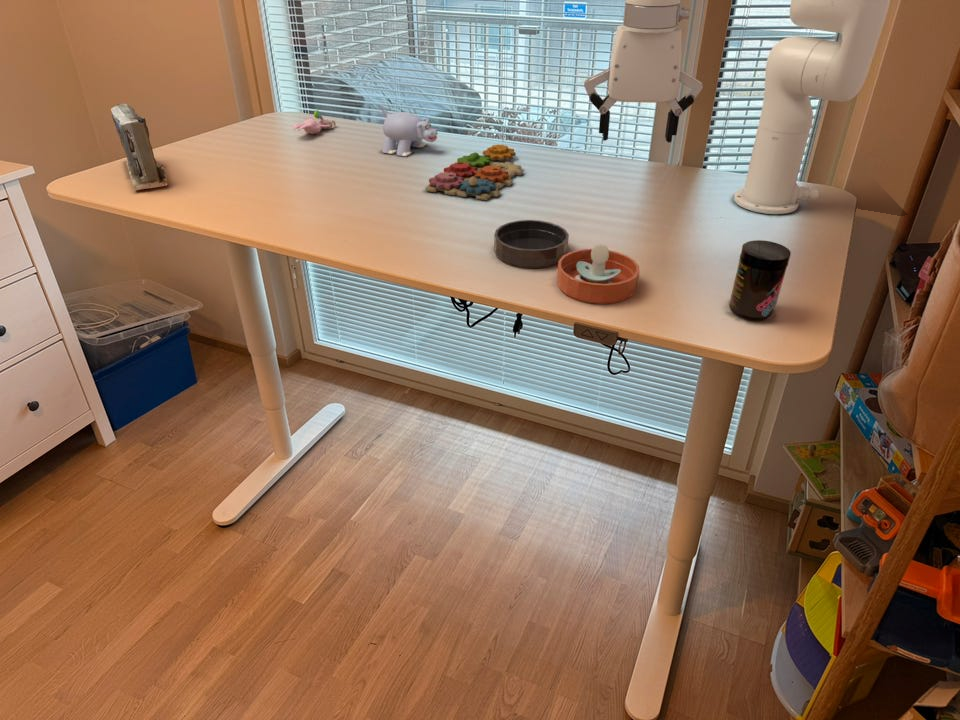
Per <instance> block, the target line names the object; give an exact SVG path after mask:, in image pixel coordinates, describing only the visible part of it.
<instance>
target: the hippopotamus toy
mask: <svg viewBox="0 0 960 720" xmlns="http://www.w3.org/2000/svg"><path fill="white" fill-rule="evenodd" d="M379 110H382V111H381V112H382V113H383V115H384V117H385V119H384V122H383V126H382V131H383V134H384V139H383V144H382V151H381V152H382V153H383V154H389V155H390V154H391V155H394V154H396V155H397V156H400V157H408V156H410V155H411V154H412V153H413V152H412V151H411V150H410V149H411V147H413V148H417V149H419V148H424V147H425V146H426V145H427V143H426V142H429V143H434V142H436V141H437V139H438V136H437V135H438V134H439V133H438V129H437V128H433V127H432V124H431V123H430V119H429V118H428V119H426V120H422V119H421V118H420V117H419V116H418V115H416V114H414V113H412V112H405V111H401V112H399V111H398V112H394V113H393V112H392V113H389V112H388V110H386V109H385V108H384V107H379ZM423 140H425V141H426V142H423ZM396 145H397V148H396Z"/></svg>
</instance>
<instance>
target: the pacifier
mask: <svg viewBox="0 0 960 720" xmlns="http://www.w3.org/2000/svg"><path fill="white" fill-rule="evenodd" d="M591 249H592V251H591V259H592V261H593V264H592V265H591V264H590V263H587V262H584V261H579V262H578V263H577V266H576V267H577V271H578V273H579V274H580V275H577V276H576V277H575V278H576V279H578V280H581V279H582V278H586V280H587V281H588V282H590V283H599V284H606V283H607V284H609V283H612V282H611V281H610V280H609V279H612V278H614V277H616V276H617V275H619V274H620V272H621V270H620V269H612V270H605V262H606V261H607V260H608V258H609V250H610V249H609V248H608V246H606V245H605V244H603V243H599V244H595V245H594V246H593V247H592V248H591ZM585 267H587V268H589V270H588V269H586V268H585ZM613 273H614V274H613ZM610 274H611V275H610ZM581 281H583V280H581Z"/></svg>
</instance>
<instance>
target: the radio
mask: <svg viewBox="0 0 960 720" xmlns="http://www.w3.org/2000/svg"><path fill="white" fill-rule="evenodd" d="M110 113H111V117H112V120H113V124H114V126H115V129H116V132H117V134H118V137H119V140H120V143H121V146H122V149H123V151H124V154H125V157H126V160H127V161H125V162H126V167H127V171H128V174H129V178H130V183H131V184H132V187H133V189H134V190H135V191H140V190H141V191H142V190H146V189H153V188H159V187H165V186H168V185H169V183H168V180H167V176H166V172H165V169H164V166H163V165H162V164H157V162H156V161H157V160H156V158H155V154H154V151H153V146H152V143H151V141H150V132H149V131H150V130H149V128H148V125H147V121H146V118H145V117H143V116H140V115H138V114H137V113H136V110H135V108H134V107H133V106H131V105H129V104H126V103H116V105H115V106H113V107H111V108H110Z"/></svg>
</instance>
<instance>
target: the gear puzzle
mask: <svg viewBox="0 0 960 720" xmlns="http://www.w3.org/2000/svg"><path fill="white" fill-rule="evenodd" d="M516 156H517V153H516V152H515V149H514V148H509V147H508V145H504V144H494V145H492V146H489V147H487V148H486V149H485V150H483V151H482V154H479V153H478V152H477V151H476V152H475V151H474V152H472V153H470V154H469V155H463V156H462V157H458V158H457V159H456V162H454V163H451V164H450V165H449V166H447V167H444V168H443V172H439V173H437V174H435V175H434V177H431V178H428V185H426V186H425V190H426V192H431V193H437V192H438V191H439V192H444V195H448V196H457V197H462V198H467V197H468V196H471V197H475V199H477V200H481V201H487V200H489V199H490V198H492V197H494V198H498V197H499V196H500V195H501V190H499V189H502V188H503V187H504V186H506V187H511V185H512V184H513V178H514V177H515V176H521V175H522V174H524V169H522V165H519V164H515V163H514V162H511V161H505V160H512V157H516ZM496 160H498V161H496ZM493 161H494V162H493ZM499 161H501V162H499ZM502 161H505V162H502Z"/></svg>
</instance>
